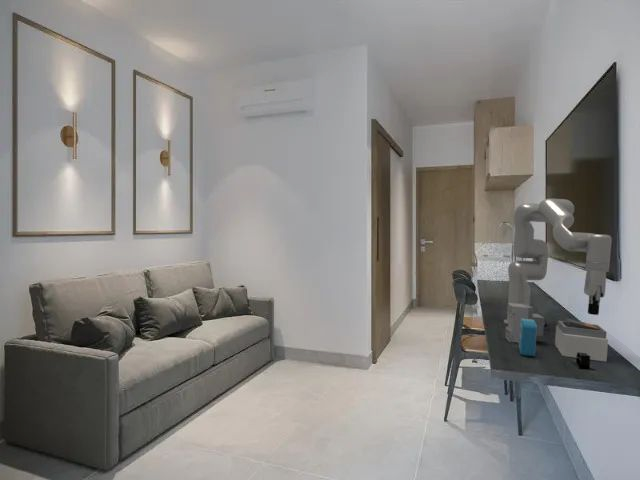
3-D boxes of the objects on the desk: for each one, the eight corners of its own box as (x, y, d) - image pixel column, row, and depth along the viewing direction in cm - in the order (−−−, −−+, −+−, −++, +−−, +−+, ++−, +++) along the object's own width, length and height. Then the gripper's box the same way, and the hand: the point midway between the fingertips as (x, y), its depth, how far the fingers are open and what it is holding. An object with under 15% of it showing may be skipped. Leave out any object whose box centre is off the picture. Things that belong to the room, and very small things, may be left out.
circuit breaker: (546, 345, 169) (549, 309, 169) (509, 342, 172) (511, 306, 171) (541, 340, 177) (543, 305, 176) (505, 337, 179) (507, 302, 179)
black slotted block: (565, 360, 153) (566, 347, 152) (587, 362, 151) (588, 350, 151) (577, 371, 140) (578, 358, 140) (602, 374, 139) (603, 361, 139)
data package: (518, 347, 165) (520, 317, 164) (531, 349, 163) (533, 319, 162) (521, 356, 153) (523, 323, 153) (534, 358, 152) (537, 325, 151)
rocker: (564, 321, 166) (565, 317, 165) (593, 329, 162) (594, 325, 162) (568, 325, 159) (569, 320, 159) (598, 333, 156) (599, 329, 156)
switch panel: (554, 344, 171) (556, 319, 171) (594, 349, 166) (596, 323, 166) (562, 355, 156) (564, 328, 156) (606, 361, 151) (608, 333, 151)
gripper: (581, 264, 167) (577, 309, 168) (591, 267, 153) (586, 317, 154) (603, 265, 164) (598, 311, 165) (615, 269, 150) (610, 319, 151)
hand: (593, 314), depth 159 cm, fingers closed
